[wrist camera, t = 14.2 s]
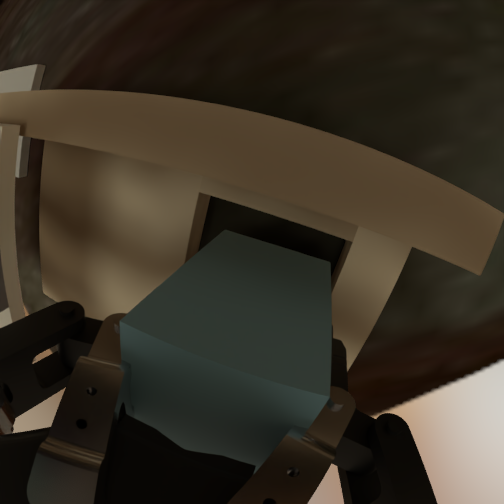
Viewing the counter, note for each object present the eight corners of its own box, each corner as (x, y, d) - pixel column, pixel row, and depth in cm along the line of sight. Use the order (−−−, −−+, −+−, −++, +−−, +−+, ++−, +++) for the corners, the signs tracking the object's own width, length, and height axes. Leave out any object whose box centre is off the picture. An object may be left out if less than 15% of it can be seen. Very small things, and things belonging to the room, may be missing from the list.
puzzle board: (71, 98, 17) (-21, 95, 9) (421, 183, 14) (504, 214, 6) (58, 284, 22) (-9, 326, 15) (319, 395, 20) (309, 492, 12)
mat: (-1, 73, 17) (-7, 73, 16) (45, 65, 16) (37, 64, 15) (-14, 162, 21) (-21, 163, 20) (27, 175, 20) (18, 177, 19)
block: (224, 229, 14) (119, 321, 6) (330, 262, 13) (329, 397, 6) (207, 316, 15) (129, 428, 8) (296, 346, 15) (267, 481, 8)
